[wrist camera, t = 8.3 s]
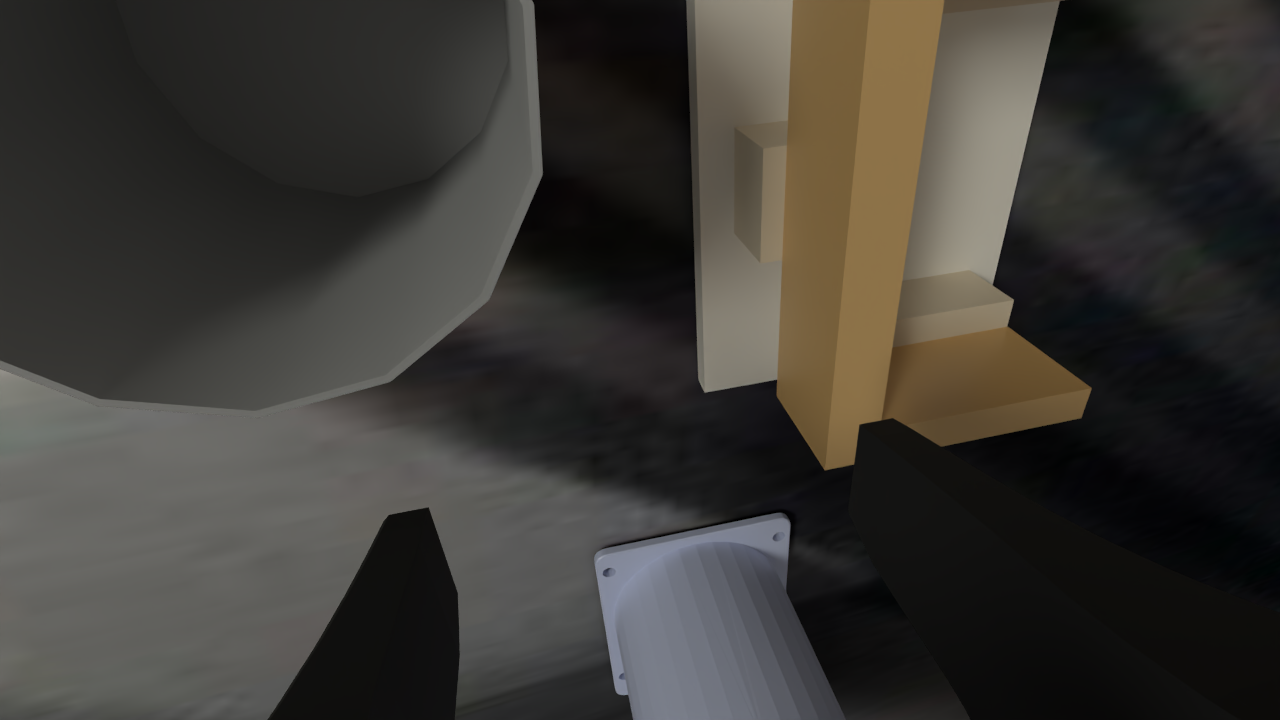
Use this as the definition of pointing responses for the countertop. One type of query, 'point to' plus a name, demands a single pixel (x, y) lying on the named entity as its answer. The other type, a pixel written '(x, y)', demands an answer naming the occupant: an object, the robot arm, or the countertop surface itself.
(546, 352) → the countertop surface
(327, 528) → the countertop surface
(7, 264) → the cup
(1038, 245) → the countertop surface
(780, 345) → the tan u-shaped clamp
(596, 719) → the countertop surface
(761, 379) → the display stand
